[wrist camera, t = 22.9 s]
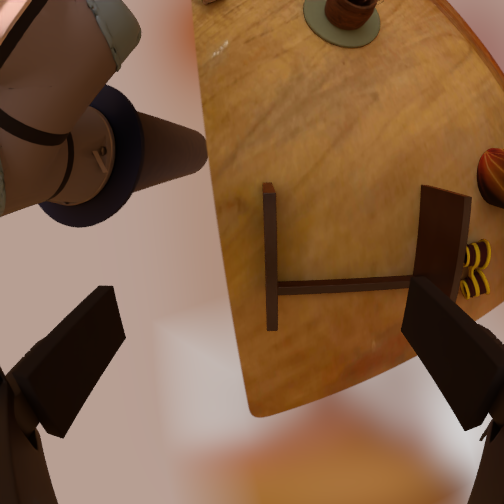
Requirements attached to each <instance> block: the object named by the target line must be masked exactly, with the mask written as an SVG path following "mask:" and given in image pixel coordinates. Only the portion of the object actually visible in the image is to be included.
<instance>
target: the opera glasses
mask: <svg viewBox="0 0 504 504" xmlns="http://www.w3.org/2000/svg"><path fill="white" fill-rule="evenodd" d="M490 257H491V247H490V244H489V242H488V241H487V240H486V239H481V240H480V241H479V242H478V243H471V244H469V245H467V246H466V252H465V259H464V264H463V267H467V266H468V267H469V274H468V277H467V278H465V280H461V281H460V287H461V290H462V293H463V296H464V297H465V299H466V300H468V299H469V298H470V297H473V296H474V297H477V296H479V295H480V294H484V293H485V294H487V295H488V294H489V293H490V287H489V284H488V281H487V279H486V277H485V275H484V273H483V272H482V270H483V269H485V268H486V267H487V266H488V264H489V262H490ZM476 267H478V268H477V269H475V268H476ZM474 269H475V272H474V273H473V271H474Z"/></svg>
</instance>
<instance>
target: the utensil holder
mask: <svg viewBox="0 0 504 504" xmlns="http://www.w3.org/2000/svg"><path fill="white" fill-rule="evenodd" d="M378 1H379V0H378ZM381 3H382V2H381ZM376 4H377V0H327V1H326V4H325V9H324V11H325V15H326V17H327V19H328V20H329V21H330V22H331V23H332V24H333V25H334V26H336V27H338V28H340V29H343V30H356V29H358V28H360V27H362V26H363V25H364V24H365V23H366V22H367V20H368V19H369V18H370V17H371V15H372V14H373V12H374V8H375V6H376ZM378 5H379V4H378Z"/></svg>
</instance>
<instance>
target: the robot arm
mask: <svg viewBox="0 0 504 504" xmlns="http://www.w3.org/2000/svg"><path fill="white" fill-rule="evenodd" d="M140 38H141V28H140V25H139V23H138V21H137V19H136V18H135V17H134V15H133V14H132V12H131V11H130V10H129V9H128V7H127V6H126V5H125V4H124V3H123V1H122V0H0V217H1V216H4V215H7V214H10V213H12V212H15V211H18V210H21V209H23V208H26V207H29V206H32V205H35V204H38V203H41V202H44V201H50V202H54V203H58V204H62V205H77V204H80V203H83V202H86V201H89V200H91V199H92V198H94V197H95V196H97V195H98V194H99V193H100V192H101V191H102V190H103V189H104V187H105V186H106V185H107V183H108V181H109V179H110V177H111V175H112V173H113V170H114V167H115V162H116V156H117V144H116V137H115V133H114V130H113V127H112V125H111V123H110V122H109V120H108V119H107V117H106V116H105V115H104V114H103V113H102V112H101V111H99V110H98V109H96V108H94V107H91V106H89V105H90V104H91V102H92V101H93V100H94V98H95V97H96V96H97V94H98V93H99V92H100V90H101V89H102V88H103V87H104V85H105V84H106V83H107V82H108V80H109V79H110V78H111V77H112V76H113V74H114V73H115V72H116V71H117V72H118V71H119V69H120V68H121V64H122V63H123V62H124V60H125V59H126V58H127V57H128V55H129V54H130V53H131V52H132V51H133V49H134V48H135V47H136V46H137V45H138V43H139V41H140ZM401 332H402V333H403V335H404V336H405V337H406V339H407V340H408V342H409V343H410V345H411V346H412V348H413V349H414V351H415V352H416V354H417V355H418V357H419V358H420V360H421V361H422V363H423V364H424V366H425V367H426V369H427V370H428V372H429V373H430V375H431V376H432V378H433V380H434V381H435V383H436V384H437V386H438V388H439V389H440V391H441V392H442V394H443V396H444V397H445V399H446V400H447V402H448V404H449V405H450V407H451V409H452V410H453V412H454V414H455V415H456V417H457V419H458V421H459V422H460V424H461V426H462V427H463V429H464V431H467V430H469V429H472V428H474V427H477V426H480V425H481V424H482V423H483V421H484V419H485V418H486V416H487V414H488V412H489V414H490V415H491V417H492V418H493V419H492V420H491V422H490V423H489V425H488V427H487V429H486V430H485V431H484V433H483V434H482V436H481V438H480V441H482V440H483V438H484V437H485V436H486V435H487V437H486V441H485V446H484V450H483V454H482V458H481V462H480V465H479V469H478V472H477V476H476V479H475V482H474V486H473V489H472V492H471V495H470V498H469V501H468V503H467V504H504V344H503V345H502V342H501V341H500V340H499V339H496V336H495V335H494V334H493V333H492V332H491V331H490V330H489V329H487V328H485V327H483V326H481V325H480V324H477V323H476V322H475V321H474V320H473V319H472V318H471V317H469V316H468V315H467V314H466V313H465V312H464V311H463V310H462V309H461V308H460V307H459V306H458V305H457V304H456V303H454V302H453V301H452V300H451V299H450V298H449V297H448V296H447V295H446V294H444V293H443V292H442V291H441V290H440V289H439V288H438V287H437V286H435V285H434V284H433V283H432V282H431V281H430V280H429V279H427V278H426V277H425V276H421V277H411V278H410V285H409V291H408V297H407V302H406V308H405V313H404V318H403V323H402V327H401ZM125 338H126V336H125V333H124V329H123V325H122V321H121V318H120V313H119V309H118V305H117V301H116V297H115V293H114V288H113V286H98V287H97V288H96V289H95V290H94V291H93V292H92V293H91V294H90V295H88V296H87V297H86V298H85V299H84V300H83V301H82V302H81V303H80V304H79V305H78V306H77V307H76V308H75V309H74V310H73V311H72V312H71V313H70V314H69V315H67V316H66V317H65V318H64V319H63V320H62V321H61V322H60V323H59V324H58V325H57V326H56V327H55V328H54V329H53V330H52V331H51V332H50V333H49V334H48V335H47V336H46V337H45V338H43V339H42V340H40V341H38V342H37V343H36V344H35V345H34V346H33V347H32V348H31V349H30V351H28V352H27V353H26V354H25V357H22V359H21V360H20V361H19V362H18V363H17V364H16V365H15V366H14V367H13V368H12V369H11V370H10V371H9V372H8V373H7V375H6V376H5V375H4V373H3V371H2V369H1V367H0V504H58V502H57V499H56V496H55V493H54V490H53V487H52V483H51V479H50V476H49V472H48V468H47V465H46V461H45V456H44V452H43V448H42V443H41V438H40V434H39V432H38V430H37V429H36V427H37V425H38V424H39V422H40V423H41V425H42V426H43V428H44V429H45V430H46V432H47V433H48V434H51V435H54V436H57V437H60V438H64V437H65V435H66V433H67V431H68V430H69V428H70V426H71V425H72V423H73V421H74V419H75V418H76V416H77V414H78V413H79V411H80V409H81V408H82V406H83V404H84V403H85V401H86V399H87V398H88V396H89V395H90V393H91V391H92V390H93V388H94V386H95V385H96V383H97V382H98V380H99V379H100V377H101V375H102V374H103V372H104V371H105V369H106V368H107V366H108V364H109V363H110V361H111V360H112V358H113V357H114V355H115V354H116V352H117V351H118V349H119V347H120V346H121V344H122V343H123V341H124V340H125Z"/></svg>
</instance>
